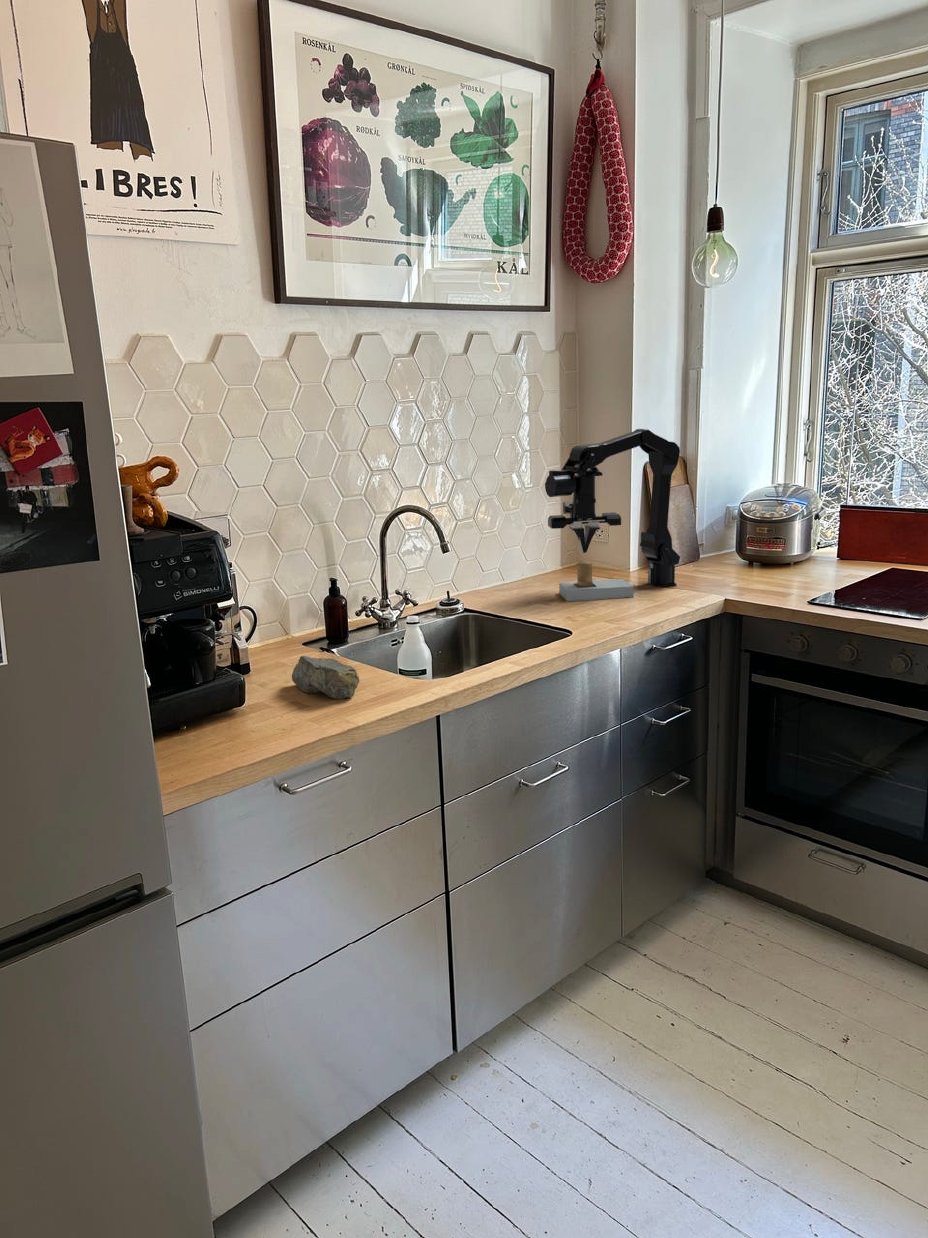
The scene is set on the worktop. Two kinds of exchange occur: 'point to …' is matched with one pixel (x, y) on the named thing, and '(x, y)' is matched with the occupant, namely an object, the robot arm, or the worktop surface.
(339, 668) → the rock
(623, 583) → the board
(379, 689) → the worktop surface
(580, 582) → the peg
